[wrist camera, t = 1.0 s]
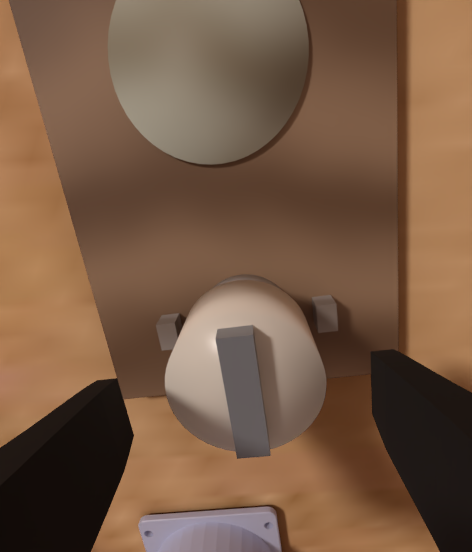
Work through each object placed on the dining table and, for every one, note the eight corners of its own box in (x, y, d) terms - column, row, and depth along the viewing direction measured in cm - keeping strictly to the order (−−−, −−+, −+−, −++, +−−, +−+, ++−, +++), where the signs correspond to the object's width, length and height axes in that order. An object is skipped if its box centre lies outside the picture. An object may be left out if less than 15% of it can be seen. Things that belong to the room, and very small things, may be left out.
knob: (313, 386, 13) (335, 461, 10) (195, 398, 14) (177, 473, 10) (303, 272, 12) (325, 312, 9) (172, 288, 12) (142, 333, 9)
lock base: (389, 359, 16) (420, 399, 13) (130, 386, 17) (106, 429, 14) (383, -83, 11) (429, -170, 8) (21, -8, 12) (-48, -62, 9)
